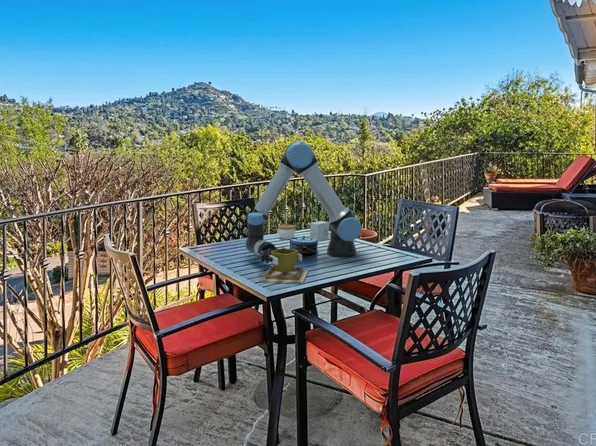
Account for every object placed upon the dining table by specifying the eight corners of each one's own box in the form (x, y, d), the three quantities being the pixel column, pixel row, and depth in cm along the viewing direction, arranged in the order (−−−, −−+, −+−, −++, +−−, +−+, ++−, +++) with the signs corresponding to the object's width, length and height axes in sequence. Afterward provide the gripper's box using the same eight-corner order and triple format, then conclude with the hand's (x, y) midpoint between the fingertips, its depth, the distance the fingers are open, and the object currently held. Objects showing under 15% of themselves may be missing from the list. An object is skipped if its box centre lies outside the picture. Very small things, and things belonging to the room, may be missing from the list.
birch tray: (308, 272, 200) (308, 266, 200) (302, 284, 182) (302, 278, 182) (268, 270, 203) (268, 265, 202) (259, 282, 185) (259, 276, 185)
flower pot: (298, 270, 193) (298, 250, 192) (287, 275, 186) (287, 254, 185) (282, 267, 198) (281, 247, 196) (270, 272, 191) (270, 251, 189)
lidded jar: (293, 240, 266) (293, 225, 265) (276, 240, 268) (275, 224, 267) (297, 237, 276) (297, 222, 275) (280, 236, 279) (280, 221, 277)
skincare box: (317, 241, 264) (318, 224, 262) (309, 240, 268) (309, 222, 266) (329, 238, 271) (329, 221, 269) (321, 237, 275) (321, 220, 274)
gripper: (287, 254, 213) (312, 264, 194) (242, 260, 201) (264, 272, 182) (287, 238, 212) (312, 247, 193) (241, 244, 199) (264, 254, 181)
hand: (289, 259), depth 188 cm, fingers closed on flower pot, 11 cm apart
